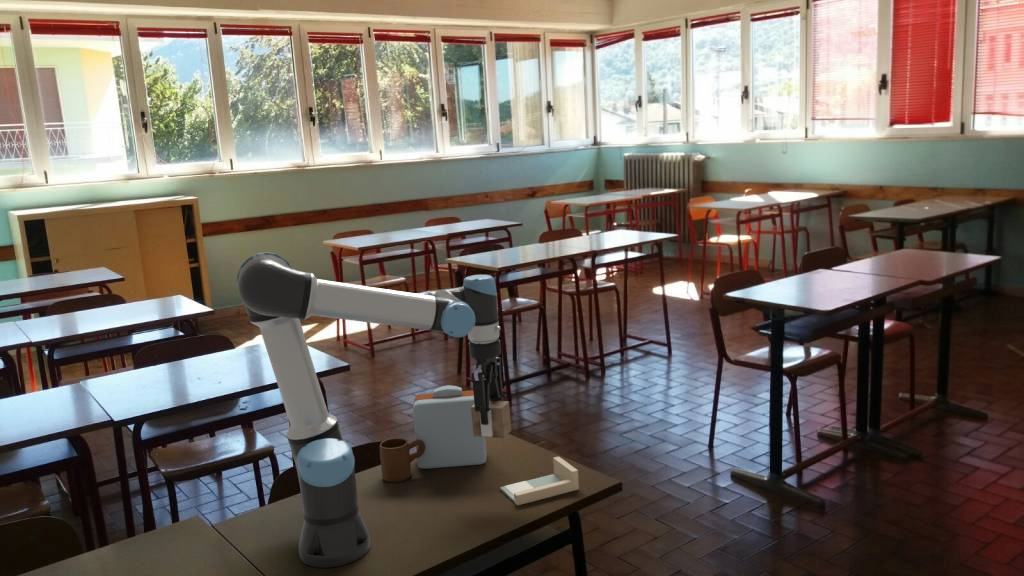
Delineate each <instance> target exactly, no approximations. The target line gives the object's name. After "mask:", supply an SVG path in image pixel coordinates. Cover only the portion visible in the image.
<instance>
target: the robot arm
mask: <svg viewBox="0 0 1024 576" xmlns="http://www.w3.org/2000/svg"><path fill="white" fill-rule="evenodd" d="M236 282H237V291H238V294H239V298H240V299H241V301H242V303H243V304H244V307H245V310H246V313H247V317H248V320H249V322H250V323H251V324H253V325H254V326H257V327H259V330H260V333H261V336H262V339H263V343H264V345H265V349H266V353H267V356H268V359H269V362H270V366H271V368H272V371H273V375H274V377H275V380H276V384H277V386H278V387H277V388H278V391H279V393H280V396H281V398H282V403H283V405H284V410H285V412H286V414H287V417H288V421H289V425H290V426H289V427H288V430H287V431H286V434H285V435H286V437H287V441H288V444H289V447H290V451H291V454H292V457H293V461H294V462H295V463H294V464H295V468H296V472H297V477H298V484H299V488H300V491H299V492H300V497H301V505H302V506H301V507H302V515H303V525H302V529H301V533H300V538H299V542H298V553H299V558H300V561H301V562H302V563H303V564H305V565H307V566H310V567H313V568H324V569H325V568H327V569H328V568H334V567H335V568H336V567H340V566H344V565H347V564H350V563H354V562H355V561H357V560H359V559H361V558H362V557H363V556H365V555H366V554H367V553H368V551H369V550H370V548H371V537H370V532H369V530H368V528H367V526H366V524H365V521H364V520H363V517H362V516H361V513H360V510H359V500H358V489H357V480H356V470H355V463H356V460H355V456H354V454H353V449H352V447H351V446H350V445H349V444H348V442H346V441H345V440H344V437H343V434H342V432H341V428H340V425H339V422H338V418H337V417H336V416H335V415H333V414H332V413H330V412H328V408H327V405H326V403H325V402H326V401H325V399H324V398H325V397H324V395H323V393H322V389H321V385H320V382H319V379H318V375H317V372H316V369H315V366H314V363H313V360H312V356H311V353H310V350H309V349H310V348H309V346H308V343H307V340H306V337H305V332H304V330H303V326H302V323H301V320H307V319H308V318H310V317H311V316H314V317H315V316H316V317H323V318H332V319H338V320H339V319H341V320H347V321H354V322H362V323H369V324H370V323H371V324H377V325H386V326H392V327H393V326H394V327H401V328H410V329H417V330H425V331H431V332H437V333H445V334H446V335H448V336H450V337H453V338H463V337H465V336H467V339H468V340H469V342H468V349H469V356H470V358H473V359H474V360H475V364H476V365H475V371H472V372H471V373H470V376H471V380H472V390H473V392H474V405H475V411H478V412H480V423H481V435H482V436H485V438H493V437H492V436H493V429H492V417H491V410H489V401H504V397H503V395H504V389H503V379H502V378H503V377H502V376H503V375H502V358H501V357H499V356H501V354H502V350H501V340H500V339H499V337H500V331H501V326H500V325H499V314H498V313H499V312H498V311H499V309H498V293H497V284H496V280H495V278H494V277H493V276H492V275H490V274H474V275H473V274H472V275H469V276H468V275H467V276H466V277H465V278H464V279H463V284H462V286H458V287H452V288H445V289H444V288H443V289H435V290H430V289H429V290H426V291H421V292H418V293H415V292H407V291H402V290H394V289H388V288H387V289H386V288H380V287H373V286H367V285H362V284H361V285H360V284H353V283H348V282H347V283H346V282H339V281H332V280H328V279H321V278H320V279H319V278H317V277H316V276H315V274H314V273H313V272H306V271H301V270H298V269H294V268H292V266H291V265H290V263H289V262H288V260H286V258H284V257H283V256H281V255H279V254H277V253H274V252H273V253H272V252H259V253H256V254H253V255H251V256H250V257H248V258H247V259H246V260H245V261H243V262H242V264H241V265H240V267H239V269H238V271H237V276H236Z"/></svg>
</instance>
